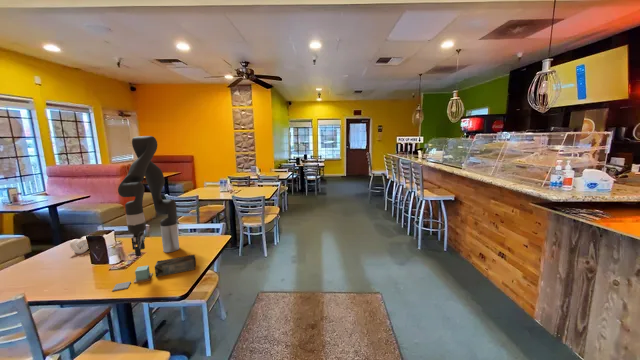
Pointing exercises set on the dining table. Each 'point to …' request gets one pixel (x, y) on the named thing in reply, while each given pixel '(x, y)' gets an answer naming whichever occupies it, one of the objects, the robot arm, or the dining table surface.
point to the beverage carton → (175, 265)
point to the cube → (142, 273)
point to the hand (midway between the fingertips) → (140, 252)
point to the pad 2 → (144, 279)
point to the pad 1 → (121, 286)
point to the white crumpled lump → (79, 245)
